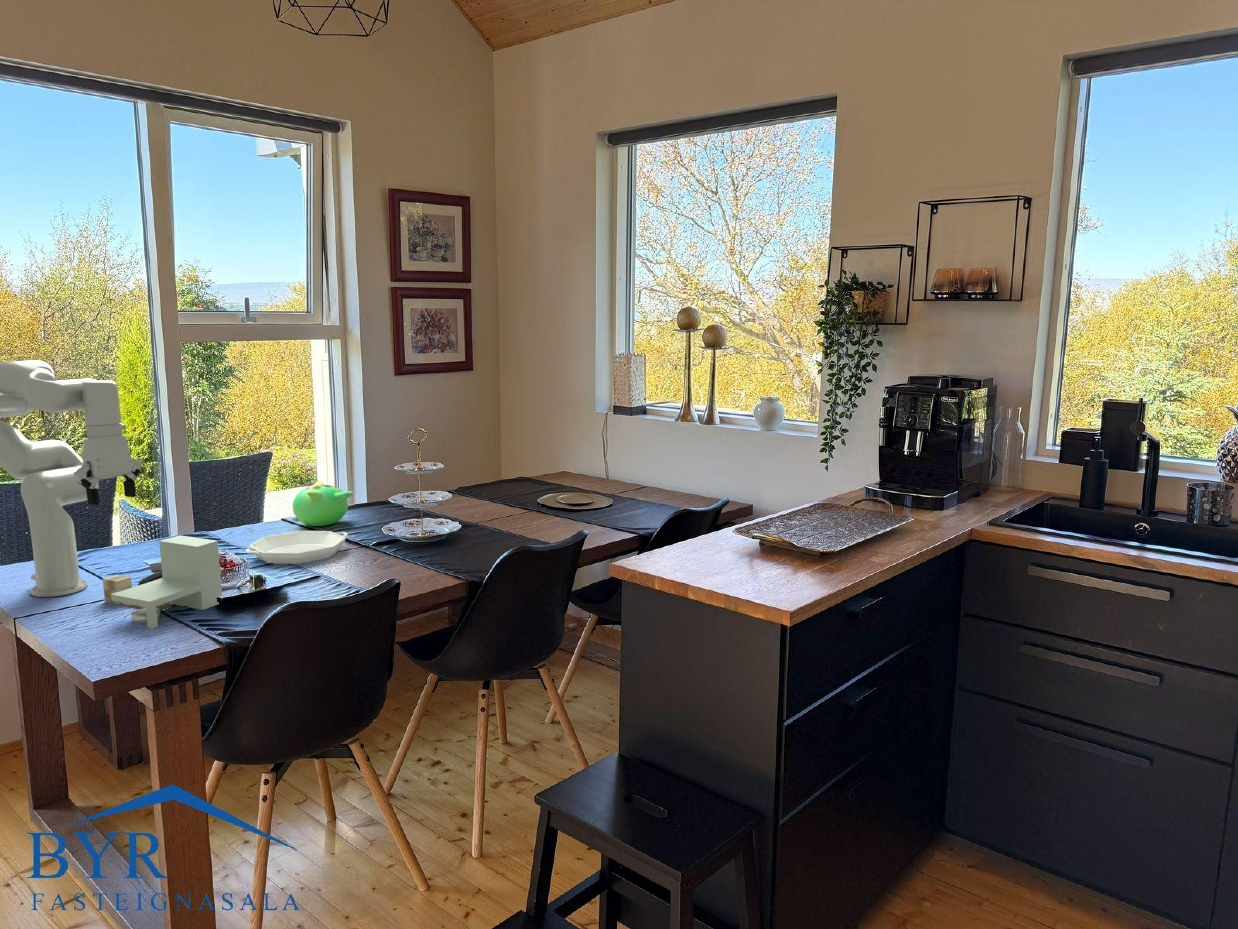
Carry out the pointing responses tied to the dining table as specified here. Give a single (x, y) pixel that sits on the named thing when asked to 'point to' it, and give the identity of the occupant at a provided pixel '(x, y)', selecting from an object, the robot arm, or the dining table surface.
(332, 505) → the green teapot
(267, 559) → the pan
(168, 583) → the pale green shelf block
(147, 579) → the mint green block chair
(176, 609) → the dining table surface
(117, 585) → the wooden mallet tool
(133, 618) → the steel token
